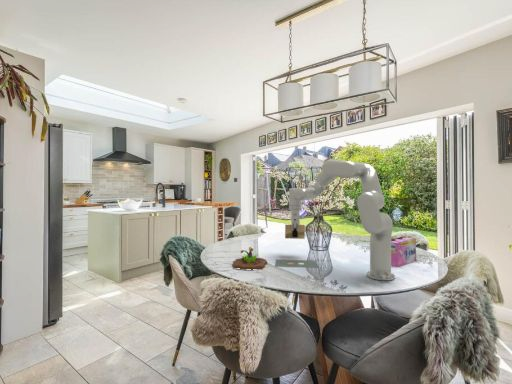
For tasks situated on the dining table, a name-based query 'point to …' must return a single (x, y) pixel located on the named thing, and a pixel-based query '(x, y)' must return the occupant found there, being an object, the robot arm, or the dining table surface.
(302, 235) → the oak block
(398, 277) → the dining table surface
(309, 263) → the mat
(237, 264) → the plant
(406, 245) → the gum box
